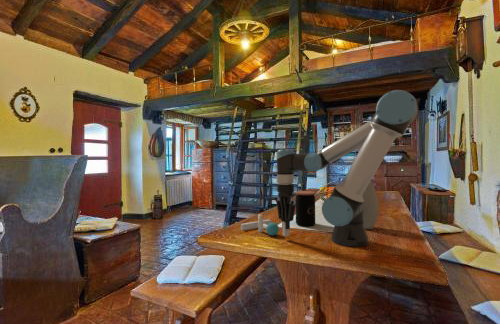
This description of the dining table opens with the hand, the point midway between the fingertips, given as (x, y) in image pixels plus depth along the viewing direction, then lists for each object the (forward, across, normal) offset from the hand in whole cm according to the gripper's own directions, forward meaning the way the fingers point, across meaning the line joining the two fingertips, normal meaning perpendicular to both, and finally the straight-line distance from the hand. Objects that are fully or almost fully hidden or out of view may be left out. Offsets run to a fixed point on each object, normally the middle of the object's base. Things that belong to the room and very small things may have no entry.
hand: (285, 235), depth 118 cm
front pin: (+1, +13, -3) cm, 14 cm away
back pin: (+2, +17, +2) cm, 17 cm away
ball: (-1, +9, +1) cm, 9 cm away
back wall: (+2, +25, 0) cm, 25 cm away
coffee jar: (+2, +15, -26) cm, 30 cm away
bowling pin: (+2, -8, -47) cm, 48 cm away
